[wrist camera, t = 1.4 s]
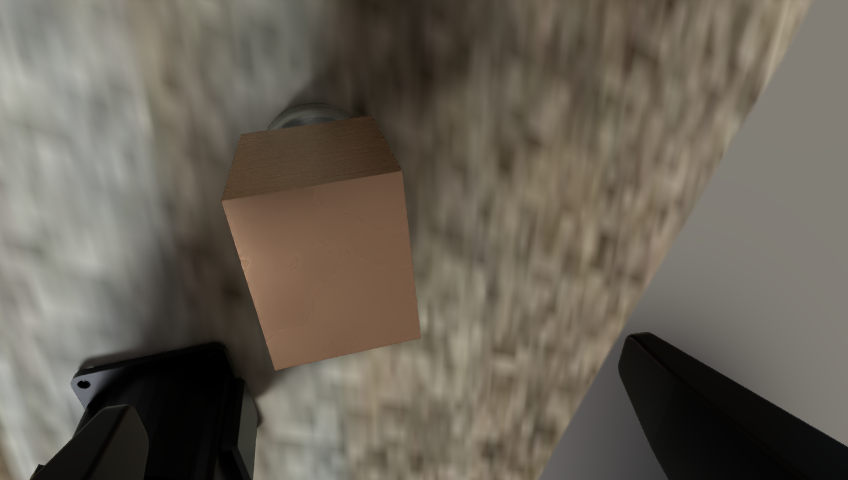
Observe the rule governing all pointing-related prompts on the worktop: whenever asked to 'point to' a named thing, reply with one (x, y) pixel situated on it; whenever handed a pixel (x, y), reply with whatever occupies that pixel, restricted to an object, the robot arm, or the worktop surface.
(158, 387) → the robot arm
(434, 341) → the worktop surface
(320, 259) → the brown and silver block
